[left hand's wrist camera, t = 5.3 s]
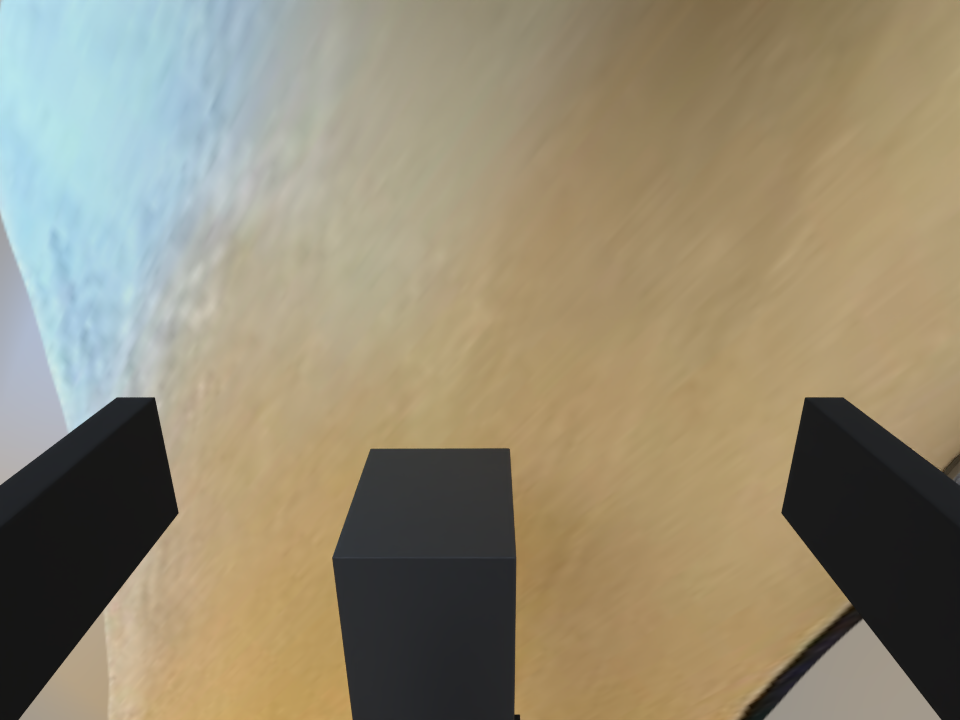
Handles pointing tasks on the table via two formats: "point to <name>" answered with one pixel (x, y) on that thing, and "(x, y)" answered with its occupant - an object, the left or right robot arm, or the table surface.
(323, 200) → the table surface
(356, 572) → the box
